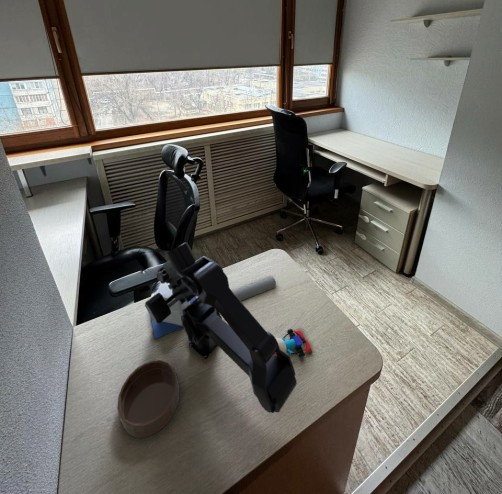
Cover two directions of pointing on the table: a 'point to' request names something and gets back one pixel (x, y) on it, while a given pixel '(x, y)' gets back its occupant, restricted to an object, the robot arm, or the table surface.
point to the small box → (175, 309)
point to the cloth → (166, 326)
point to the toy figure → (294, 343)
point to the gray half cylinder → (255, 288)
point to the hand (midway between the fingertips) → (170, 294)
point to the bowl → (148, 398)
